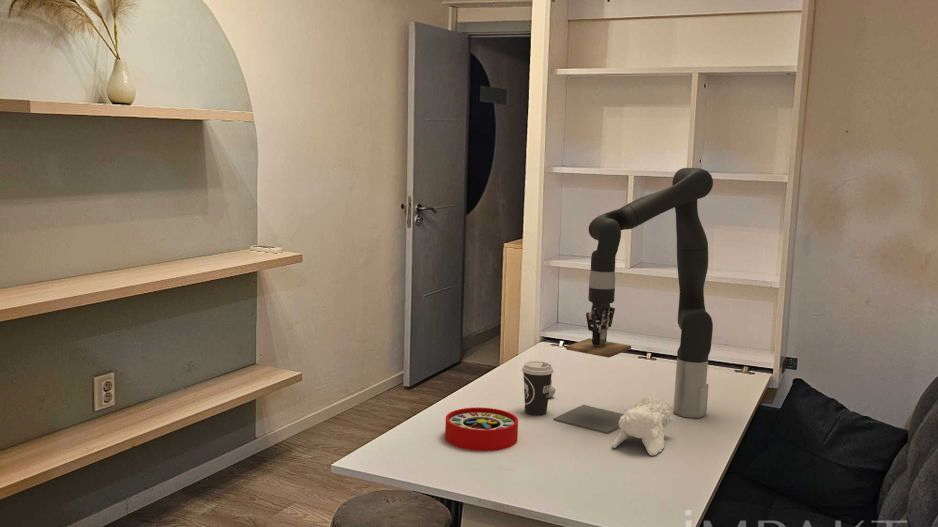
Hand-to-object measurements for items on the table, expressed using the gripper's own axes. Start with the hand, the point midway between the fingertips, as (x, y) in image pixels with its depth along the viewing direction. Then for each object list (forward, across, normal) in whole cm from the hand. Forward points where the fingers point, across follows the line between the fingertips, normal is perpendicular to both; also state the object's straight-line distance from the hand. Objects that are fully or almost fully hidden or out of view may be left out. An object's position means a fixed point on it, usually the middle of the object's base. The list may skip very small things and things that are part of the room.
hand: (599, 343), depth 256 cm
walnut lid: (+2, 0, 0) cm, 2 cm away
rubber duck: (+23, +10, +23) cm, 34 cm away
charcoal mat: (+23, 0, 0) cm, 23 cm away
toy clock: (+24, -36, +16) cm, 46 cm away
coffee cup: (+23, -6, +17) cm, 30 cm away
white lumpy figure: (+24, -9, -20) cm, 32 cm away
